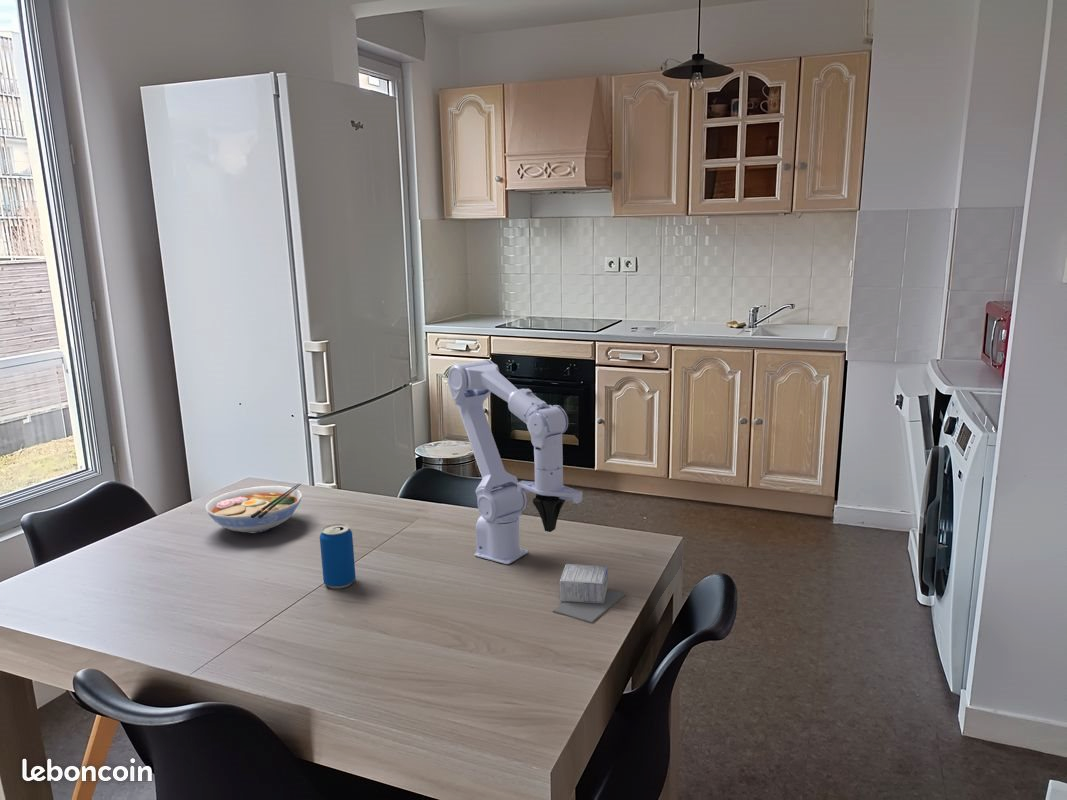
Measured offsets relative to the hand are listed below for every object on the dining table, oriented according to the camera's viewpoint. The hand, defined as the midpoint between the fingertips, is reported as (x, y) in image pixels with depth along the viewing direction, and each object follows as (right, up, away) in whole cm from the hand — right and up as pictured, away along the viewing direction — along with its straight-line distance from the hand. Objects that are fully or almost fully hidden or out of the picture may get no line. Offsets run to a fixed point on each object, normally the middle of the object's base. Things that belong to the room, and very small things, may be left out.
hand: (550, 530), depth 157 cm
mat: (+7, -13, -10) cm, 17 cm away
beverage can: (-44, -12, +2) cm, 45 cm away
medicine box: (+2, -9, -6) cm, 11 cm away
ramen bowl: (-72, -6, +34) cm, 80 cm away
